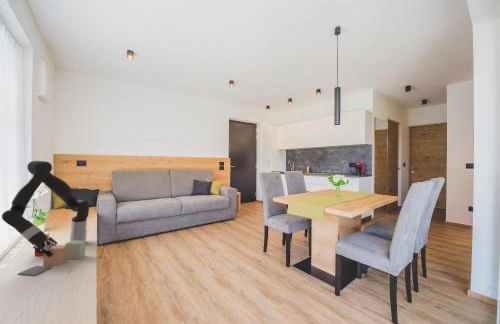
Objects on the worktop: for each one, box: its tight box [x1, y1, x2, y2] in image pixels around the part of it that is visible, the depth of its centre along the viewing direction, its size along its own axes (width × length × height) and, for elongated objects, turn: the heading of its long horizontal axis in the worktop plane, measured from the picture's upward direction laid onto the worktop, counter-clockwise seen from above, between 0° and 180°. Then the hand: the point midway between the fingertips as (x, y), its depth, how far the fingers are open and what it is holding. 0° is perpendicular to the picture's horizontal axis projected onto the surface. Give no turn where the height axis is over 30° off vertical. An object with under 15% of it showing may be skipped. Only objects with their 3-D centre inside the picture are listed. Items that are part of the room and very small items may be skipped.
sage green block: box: [64, 240, 87, 260], centre depth 147 cm, size 9×6×10 cm, turn 97°
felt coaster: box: [17, 265, 53, 277], centre depth 126 cm, size 10×10×1 cm
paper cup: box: [34, 231, 51, 257], centre depth 149 cm, size 8×8×14 cm
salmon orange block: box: [42, 244, 67, 267], centre depth 138 cm, size 9×6×10 cm, turn 106°
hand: (55, 253), depth 137 cm, fingers open, 8 cm apart
